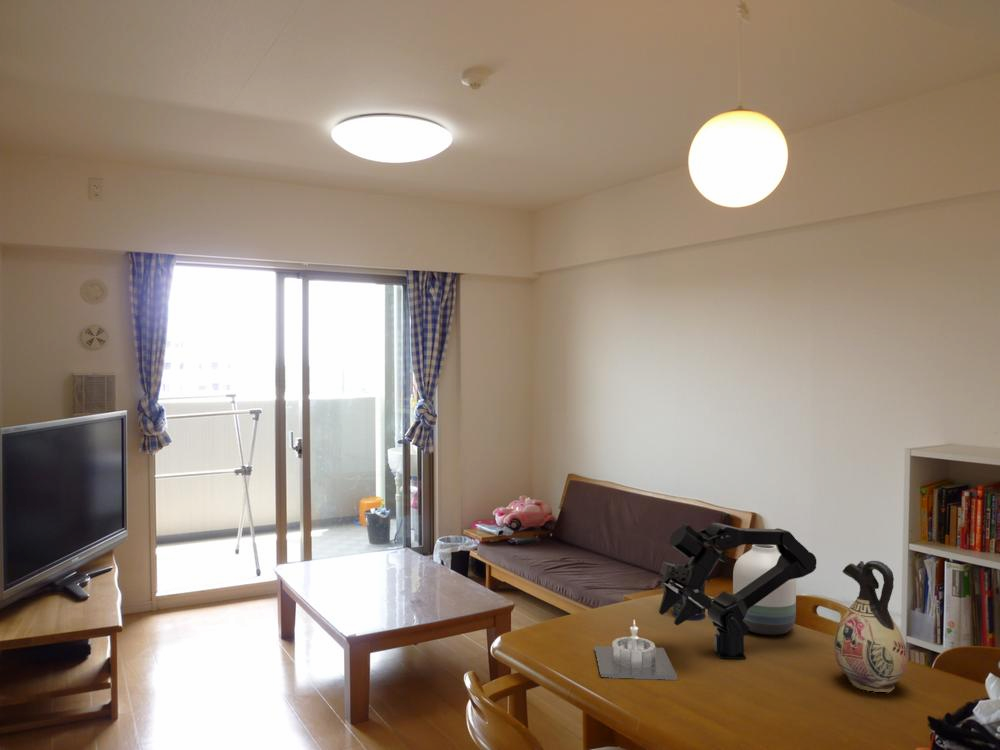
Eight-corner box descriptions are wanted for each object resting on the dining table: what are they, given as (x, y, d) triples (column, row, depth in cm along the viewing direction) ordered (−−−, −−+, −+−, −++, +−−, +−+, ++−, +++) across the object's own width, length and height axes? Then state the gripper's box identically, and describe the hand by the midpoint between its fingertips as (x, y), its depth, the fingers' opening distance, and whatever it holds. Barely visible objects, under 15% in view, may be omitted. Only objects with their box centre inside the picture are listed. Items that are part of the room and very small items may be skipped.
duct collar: (663, 651, 188) (663, 632, 188) (677, 680, 170) (677, 658, 170) (594, 649, 188) (594, 630, 189) (600, 678, 170) (601, 657, 171)
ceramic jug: (818, 678, 171) (818, 553, 171) (864, 668, 177) (864, 547, 178) (881, 708, 155) (881, 570, 156) (929, 696, 162) (929, 563, 162)
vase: (720, 625, 208) (720, 543, 208) (759, 616, 217) (759, 537, 217) (768, 644, 193) (768, 555, 194) (808, 633, 202) (808, 548, 202)
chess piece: (624, 663, 177) (624, 622, 177) (623, 655, 182) (623, 616, 182) (644, 664, 176) (644, 623, 176) (643, 656, 181) (643, 617, 181)
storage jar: (673, 619, 213) (673, 569, 213) (671, 609, 223) (671, 561, 223) (707, 621, 211) (707, 571, 211) (703, 611, 221) (704, 563, 221)
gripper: (661, 543, 192) (629, 592, 190) (692, 557, 174) (658, 611, 171) (693, 566, 193) (662, 615, 191) (727, 582, 175) (693, 637, 173)
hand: (667, 618), depth 182 cm, fingers open, 9 cm apart
